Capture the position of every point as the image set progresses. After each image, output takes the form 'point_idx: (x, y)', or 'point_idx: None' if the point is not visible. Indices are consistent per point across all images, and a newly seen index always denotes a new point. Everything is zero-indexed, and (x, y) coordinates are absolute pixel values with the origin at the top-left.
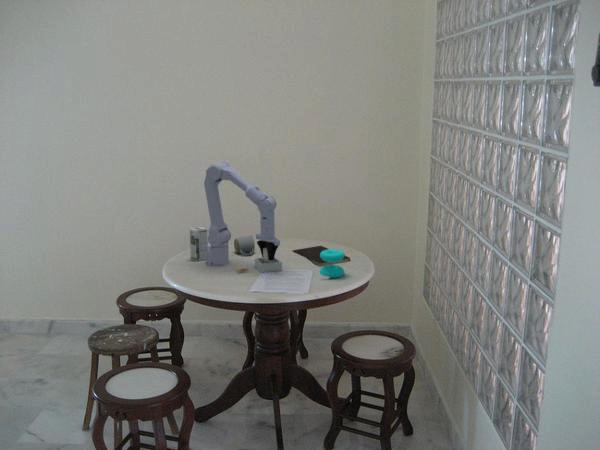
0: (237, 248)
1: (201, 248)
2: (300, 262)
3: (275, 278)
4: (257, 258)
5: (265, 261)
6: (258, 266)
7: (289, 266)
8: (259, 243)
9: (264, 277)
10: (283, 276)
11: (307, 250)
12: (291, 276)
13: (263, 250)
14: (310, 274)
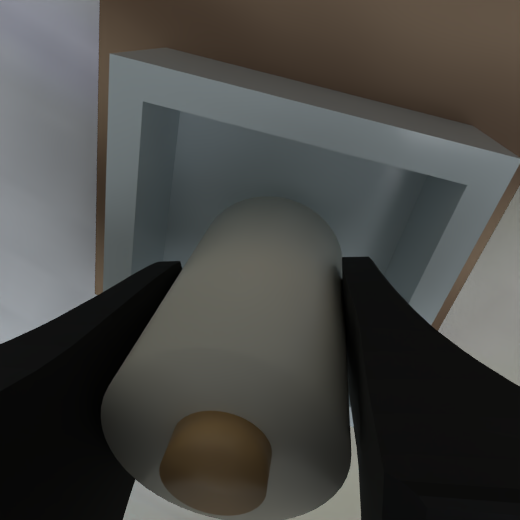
0: None
1: None
2: (342, 514)
3: (17, 142)
4: (484, 203)
5: (229, 216)
6: (270, 82)
7: None
8: (387, 469)
9: (89, 47)
10: (57, 240)
11: None
12: (36, 292)
13: (234, 322)
14: None
